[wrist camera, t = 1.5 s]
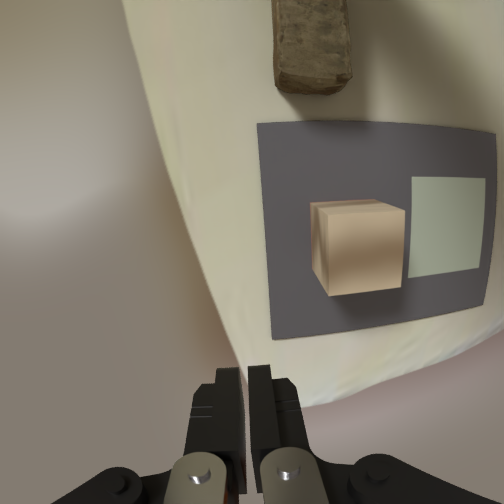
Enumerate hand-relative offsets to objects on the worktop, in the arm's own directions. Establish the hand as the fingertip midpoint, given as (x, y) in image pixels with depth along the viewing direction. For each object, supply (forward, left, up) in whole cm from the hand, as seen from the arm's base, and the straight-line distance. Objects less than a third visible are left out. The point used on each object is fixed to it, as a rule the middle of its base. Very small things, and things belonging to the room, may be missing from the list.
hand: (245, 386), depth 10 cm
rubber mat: (0, +15, -19) cm, 24 cm away
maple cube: (0, +9, -19) cm, 21 cm away
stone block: (-18, +7, -19) cm, 27 cm away
